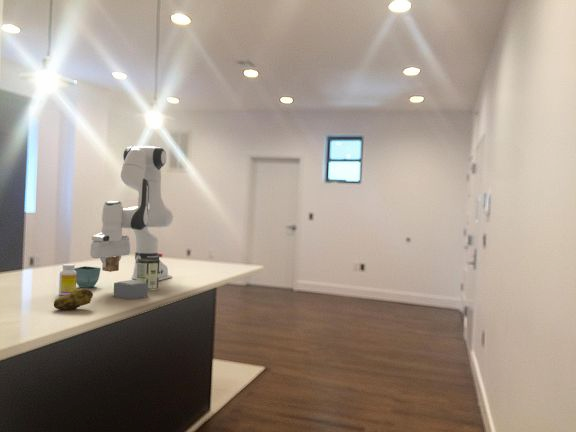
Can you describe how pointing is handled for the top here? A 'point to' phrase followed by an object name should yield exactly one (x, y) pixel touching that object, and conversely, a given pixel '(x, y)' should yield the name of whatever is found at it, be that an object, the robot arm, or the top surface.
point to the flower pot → (87, 276)
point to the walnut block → (111, 264)
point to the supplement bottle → (67, 279)
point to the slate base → (130, 289)
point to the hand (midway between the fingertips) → (110, 266)
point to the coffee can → (148, 272)
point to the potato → (74, 299)
